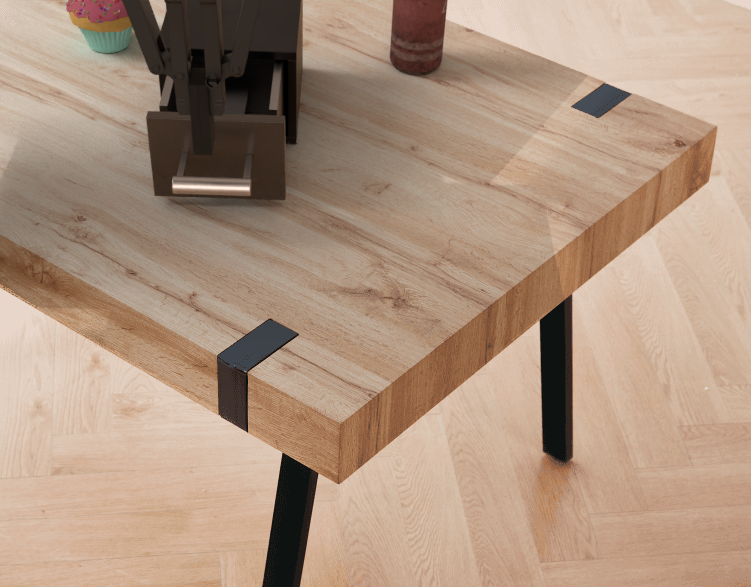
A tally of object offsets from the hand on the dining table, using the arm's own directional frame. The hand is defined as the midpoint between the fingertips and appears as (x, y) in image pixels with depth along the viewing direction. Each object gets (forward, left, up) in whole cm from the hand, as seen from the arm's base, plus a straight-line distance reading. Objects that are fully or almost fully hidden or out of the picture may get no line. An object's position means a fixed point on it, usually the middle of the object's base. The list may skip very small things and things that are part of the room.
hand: (204, 145), depth 89 cm
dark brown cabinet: (0, +28, -13) cm, 31 cm away
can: (+20, +38, -13) cm, 45 cm away
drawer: (0, +13, -12) cm, 18 cm away
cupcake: (-16, +40, -13) cm, 45 cm away
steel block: (0, +15, -11) cm, 19 cm away
